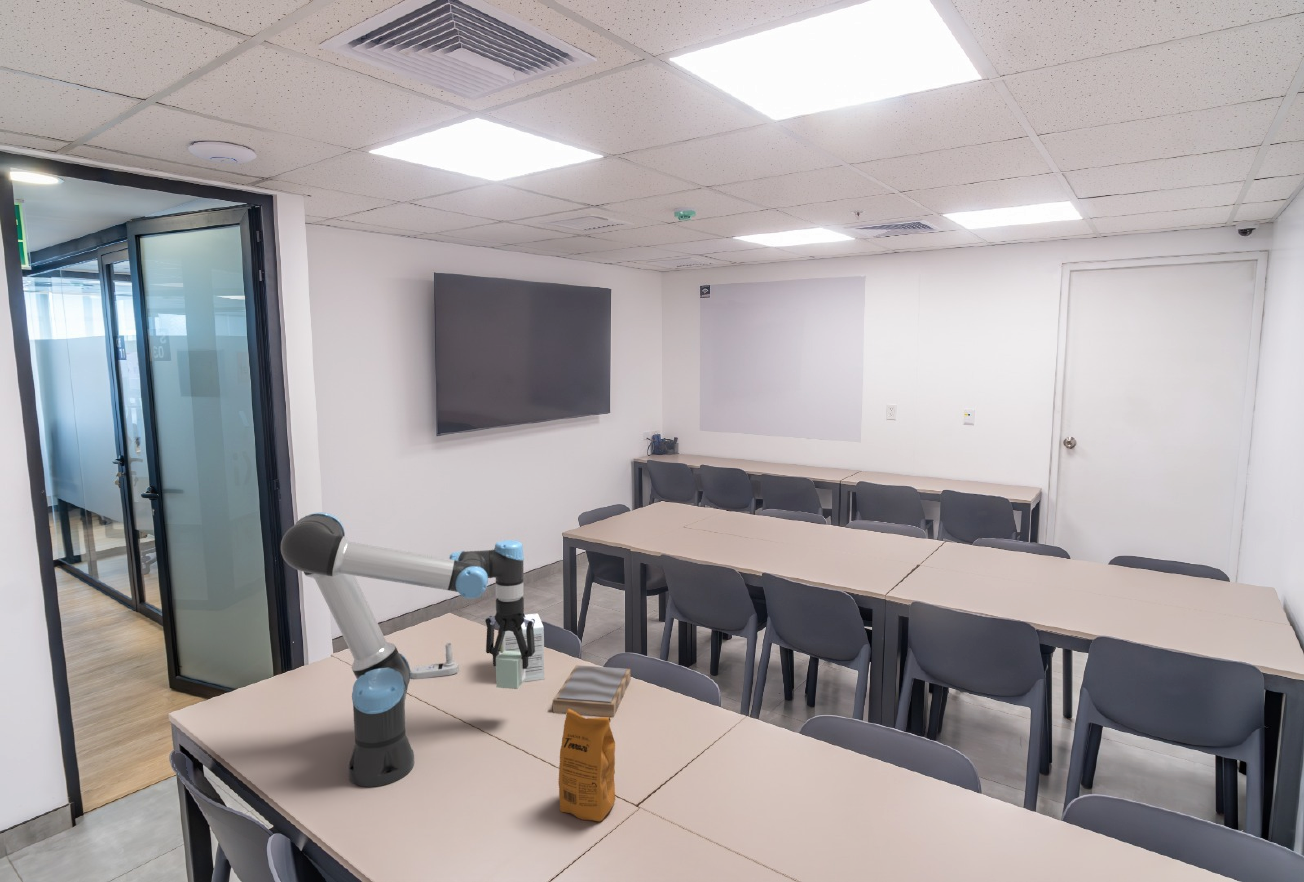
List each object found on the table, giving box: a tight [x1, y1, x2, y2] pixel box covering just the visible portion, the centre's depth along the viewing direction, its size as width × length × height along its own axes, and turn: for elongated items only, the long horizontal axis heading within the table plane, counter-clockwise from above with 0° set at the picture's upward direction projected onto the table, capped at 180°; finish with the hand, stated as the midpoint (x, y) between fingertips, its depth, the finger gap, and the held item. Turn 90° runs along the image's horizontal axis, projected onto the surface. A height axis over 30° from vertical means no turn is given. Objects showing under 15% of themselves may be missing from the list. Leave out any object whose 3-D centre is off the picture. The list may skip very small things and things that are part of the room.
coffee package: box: [558, 709, 616, 822], centre depth 151 cm, size 10×12×22 cm
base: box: [552, 664, 632, 718], centre depth 205 cm, size 24×18×4 cm
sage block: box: [495, 651, 525, 690], centre depth 187 cm, size 6×6×8 cm
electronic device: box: [410, 642, 460, 680], centre depth 220 cm, size 5×10×15 cm
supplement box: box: [498, 613, 545, 683], centre depth 220 cm, size 13×13×18 cm
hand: (510, 678), depth 187 cm, fingers closed on sage block, 6 cm apart
